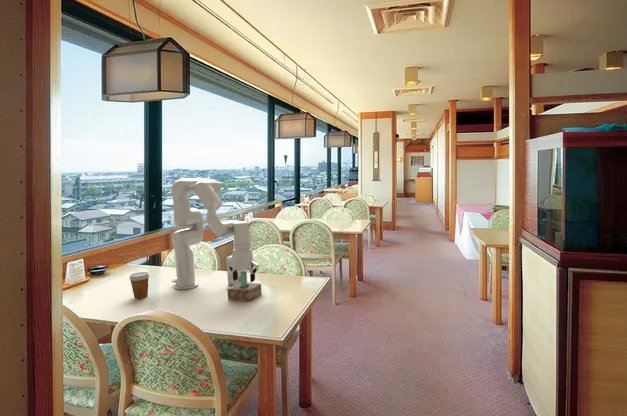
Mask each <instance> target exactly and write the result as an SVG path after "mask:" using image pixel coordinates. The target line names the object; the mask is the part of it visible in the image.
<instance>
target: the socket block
mask: <svg viewBox="0 0 627 416" xmlns="http://www.w3.org/2000/svg"><path fill="white" fill-rule="evenodd" d="M262 293H263V292H262V283H259V282H258V283H257V282H247V288H242V287H241V282H240V283H238V284H236V285H231V286H230V287H229V288H227V300H228V301H237V302H238V301H239V302H248V303H250V302H252V301H253V300H255V299H257V298H259V296H261V295H262Z"/></svg>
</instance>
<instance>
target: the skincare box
mask: <svg viewBox="0 0 627 416" xmlns="http://www.w3.org/2000/svg"><path fill="white" fill-rule="evenodd" d="M225 259H226V260H225V261H226V272H227V273H226V274H227V285H228V286H234V285H236V284H238V283H240V282H241V273H240V271H244V270H237V272H238V279H237V280H235V281H233V273H232V272H231V270H230V269H229V266H228V263H230V262H231V261H232V254H231V255H229V256H227V257H225Z"/></svg>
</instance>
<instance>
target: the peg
mask: <svg viewBox="0 0 627 416" xmlns="http://www.w3.org/2000/svg"><path fill="white" fill-rule="evenodd" d="M240 273H241V287H242V288H247V283H248V275H247V274H248V270H247V271H245V270H243V271H240Z"/></svg>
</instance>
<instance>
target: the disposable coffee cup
mask: <svg viewBox="0 0 627 416" xmlns="http://www.w3.org/2000/svg"><path fill="white" fill-rule="evenodd" d="M128 279H129V281H130V285H131V288H132V293H133V299H135V298H138V299H137V300H140V299H139V298H143V299H146V298H148V297H149V296H148V295H149V279H150V274H149V273H148V272H146V271H141V272H140V271H139V272H135V273H131V274H130V275H129V278H128ZM147 296H148V297H147ZM145 297H146V298H145Z"/></svg>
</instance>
